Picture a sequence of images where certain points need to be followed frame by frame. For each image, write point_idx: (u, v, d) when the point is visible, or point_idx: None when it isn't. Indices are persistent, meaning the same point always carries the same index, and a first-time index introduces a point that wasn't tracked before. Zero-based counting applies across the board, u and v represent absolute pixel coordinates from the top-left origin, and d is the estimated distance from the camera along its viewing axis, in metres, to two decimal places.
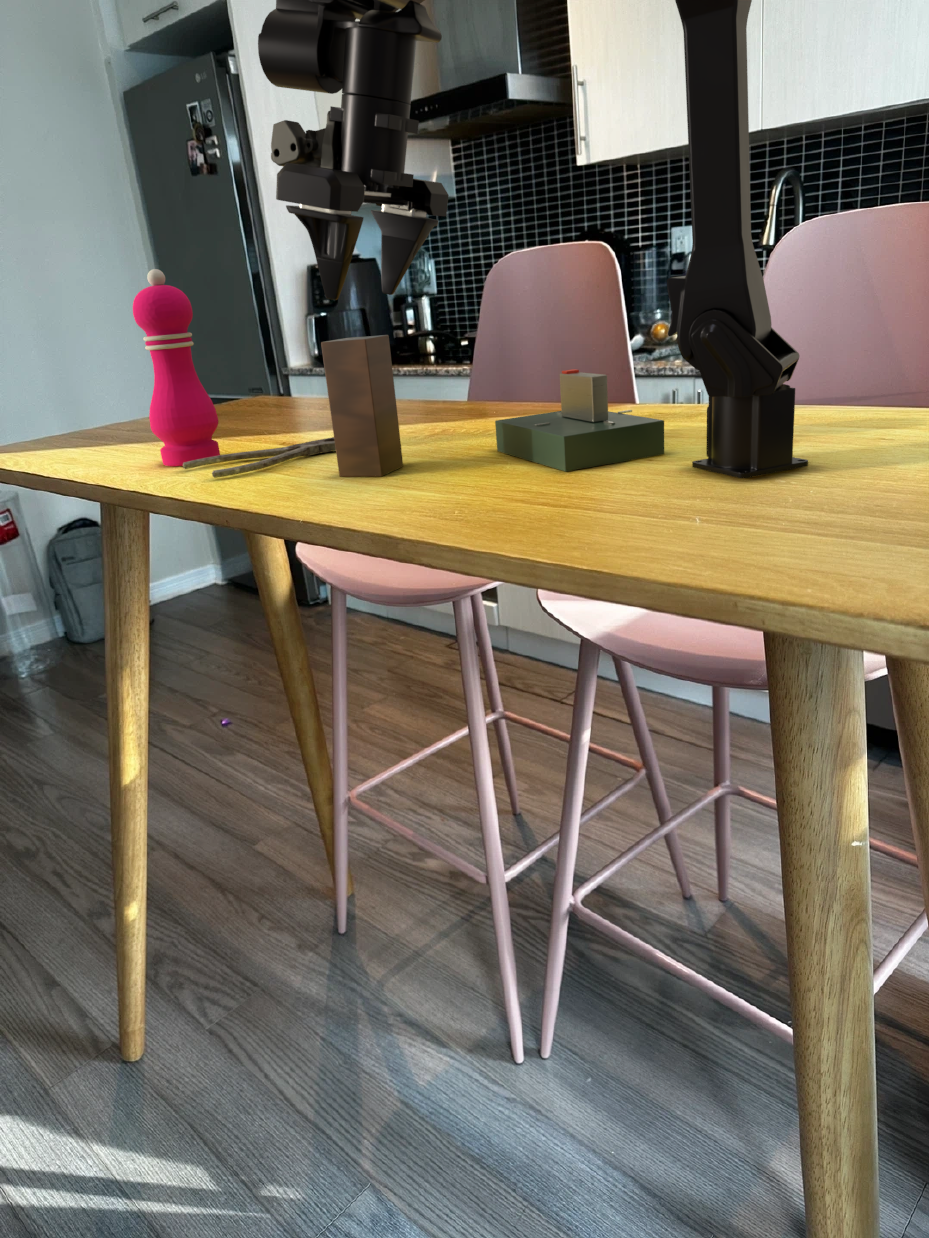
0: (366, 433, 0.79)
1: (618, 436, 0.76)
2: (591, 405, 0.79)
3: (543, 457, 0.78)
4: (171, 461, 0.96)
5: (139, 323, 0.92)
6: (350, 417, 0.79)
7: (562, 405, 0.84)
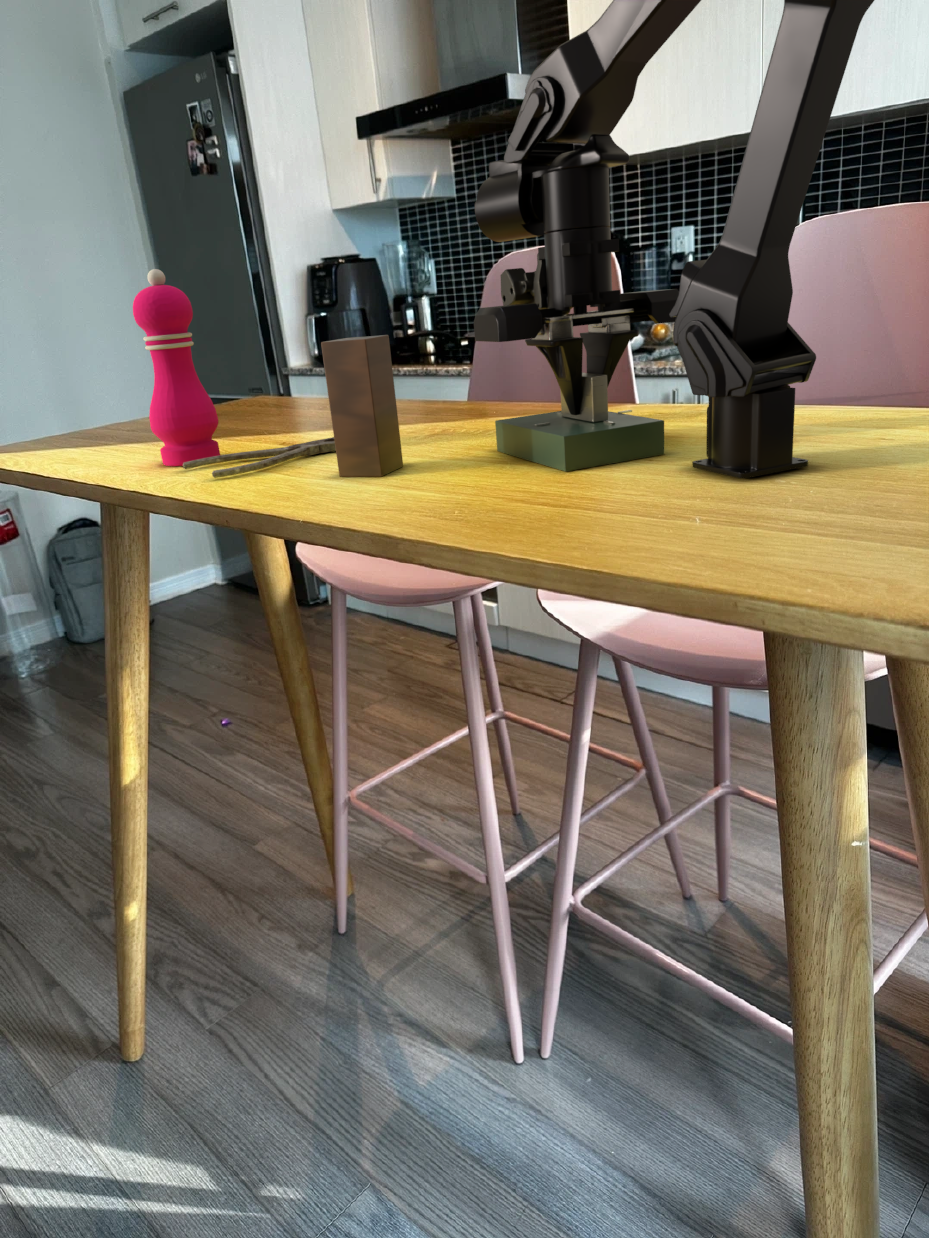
0: (366, 433, 0.79)
1: (618, 436, 0.76)
2: (591, 405, 0.79)
3: (543, 457, 0.78)
4: (171, 461, 0.96)
5: (139, 323, 0.92)
6: (350, 417, 0.79)
7: (562, 405, 0.84)
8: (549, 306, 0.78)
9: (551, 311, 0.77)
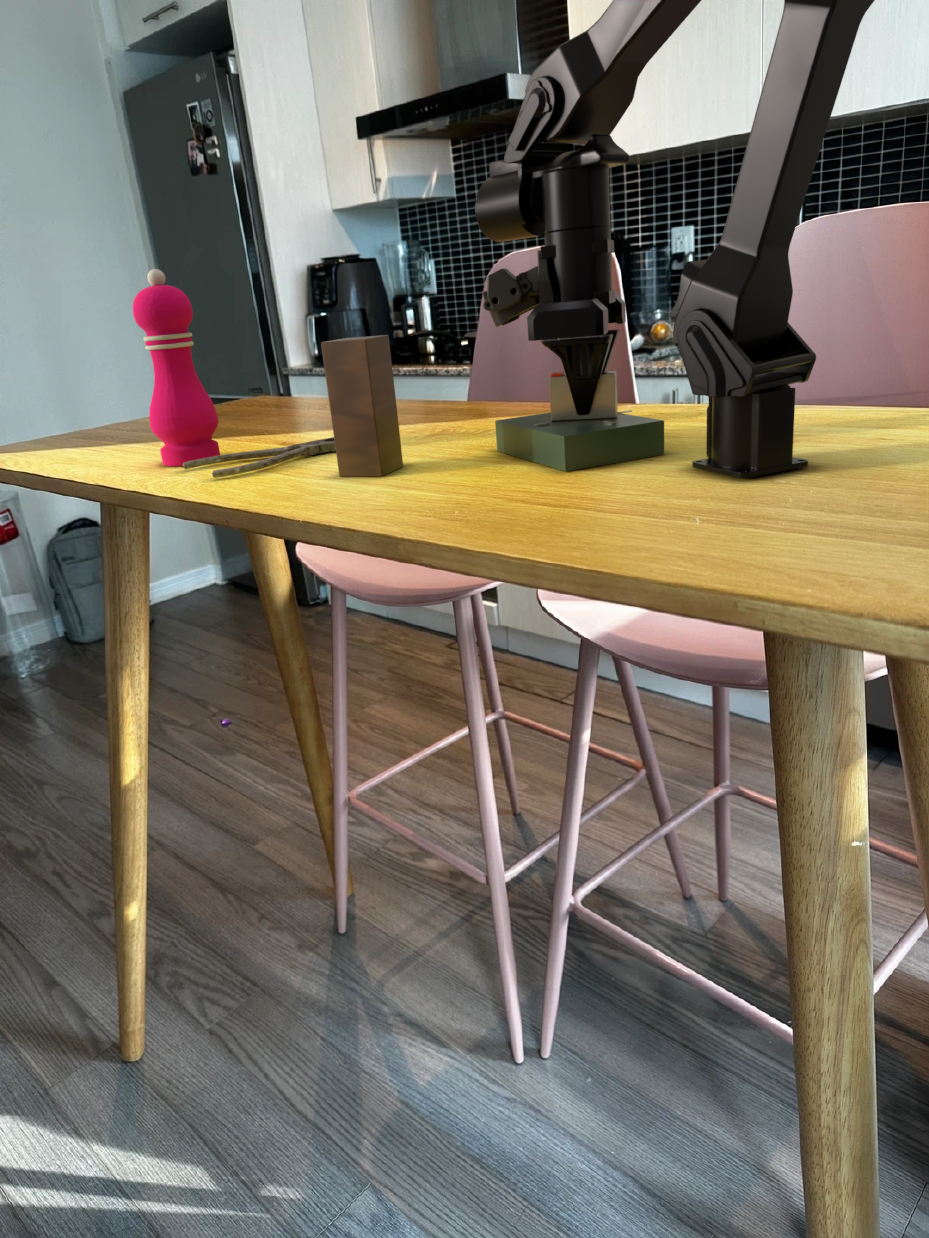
0: (366, 433, 0.79)
1: (618, 436, 0.76)
2: (613, 400, 0.80)
3: (543, 457, 0.78)
4: (171, 461, 0.96)
5: (139, 323, 0.92)
6: (350, 417, 0.79)
7: (554, 409, 0.82)
8: None
9: None
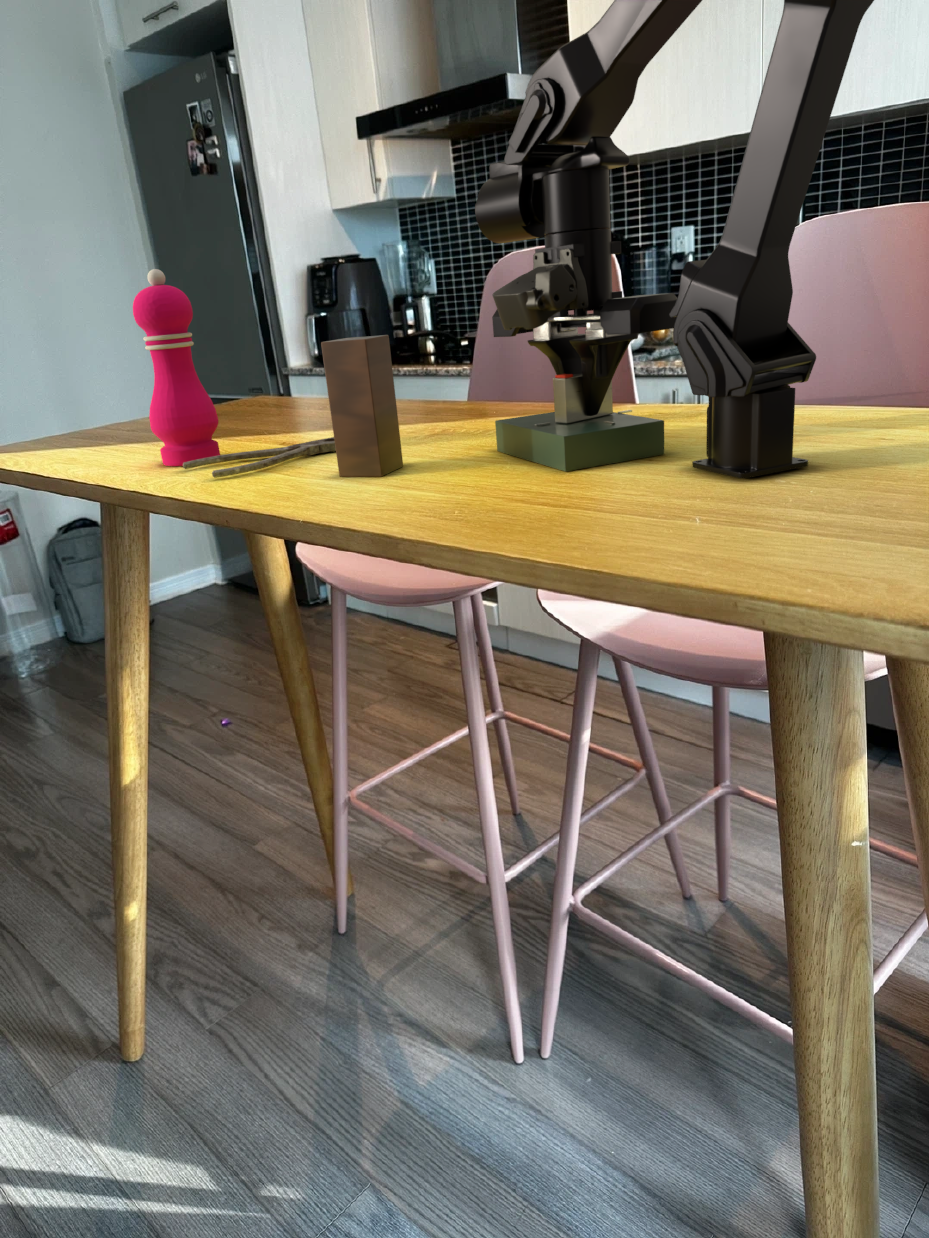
0: (366, 433, 0.79)
1: (618, 436, 0.76)
2: (611, 397, 0.83)
3: (543, 457, 0.78)
4: (171, 461, 0.96)
5: (139, 323, 0.92)
6: (350, 417, 0.79)
7: (569, 411, 0.80)
8: (598, 304, 0.76)
9: None
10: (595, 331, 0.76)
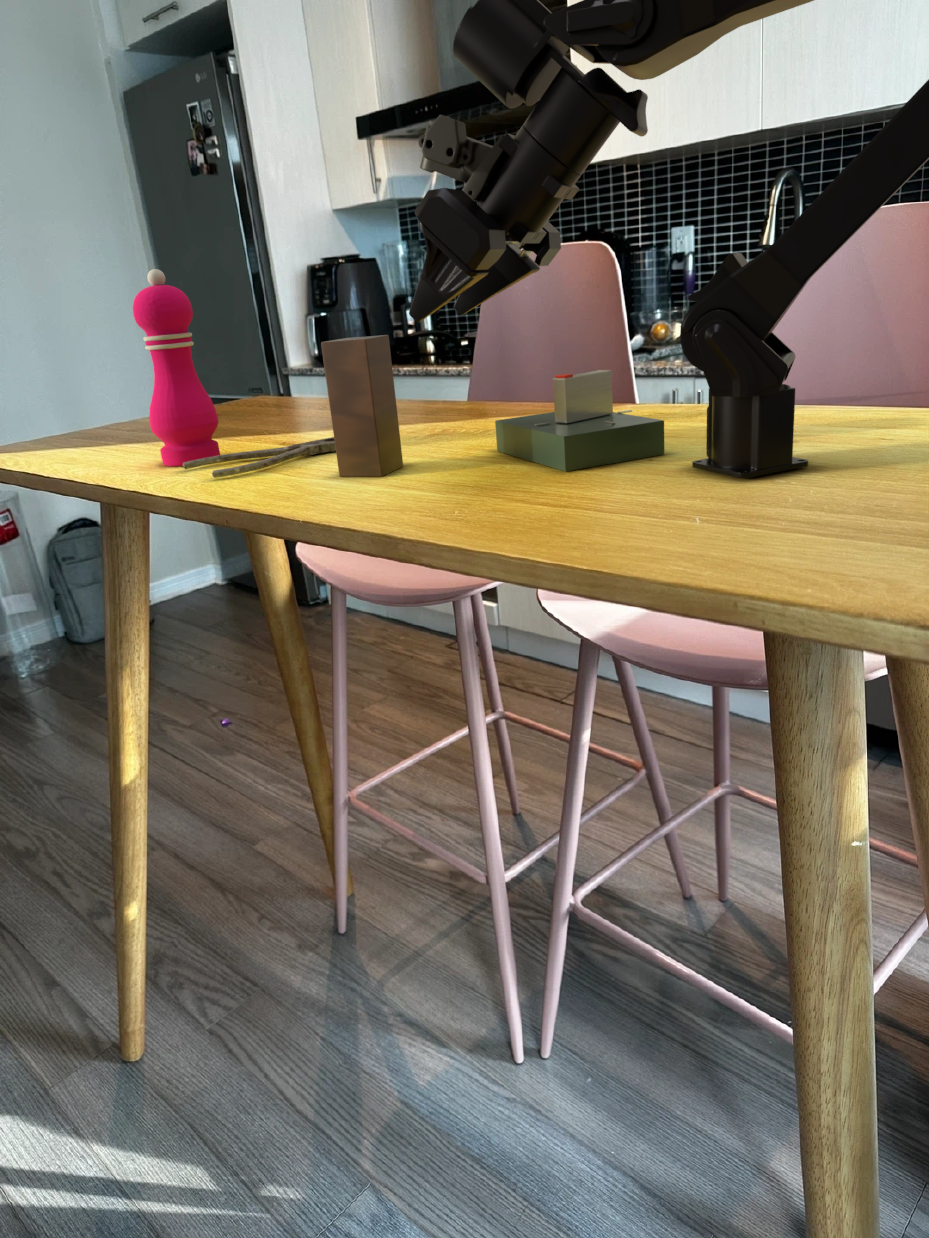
0: (366, 433, 0.79)
1: (618, 436, 0.76)
2: (611, 397, 0.83)
3: (543, 457, 0.78)
4: (171, 461, 0.96)
5: (139, 323, 0.92)
6: (350, 417, 0.79)
7: (569, 411, 0.80)
8: (488, 211, 0.68)
9: None
10: None
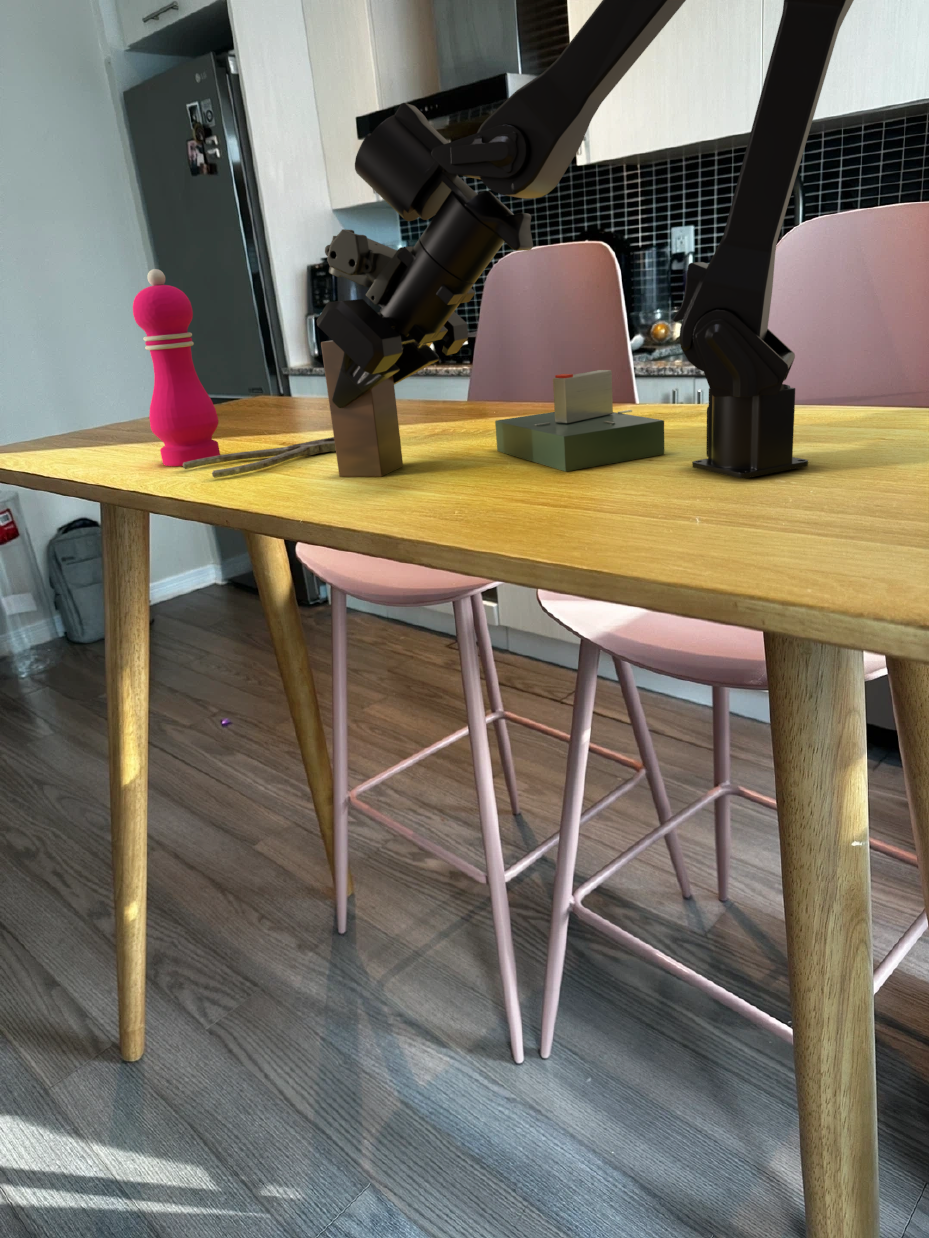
0: (366, 433, 0.79)
1: (618, 436, 0.76)
2: (611, 397, 0.83)
3: (543, 457, 0.78)
4: (171, 461, 0.96)
5: (139, 323, 0.92)
6: (350, 417, 0.79)
7: (569, 411, 0.80)
8: (389, 315, 0.74)
9: (393, 327, 0.74)
10: None
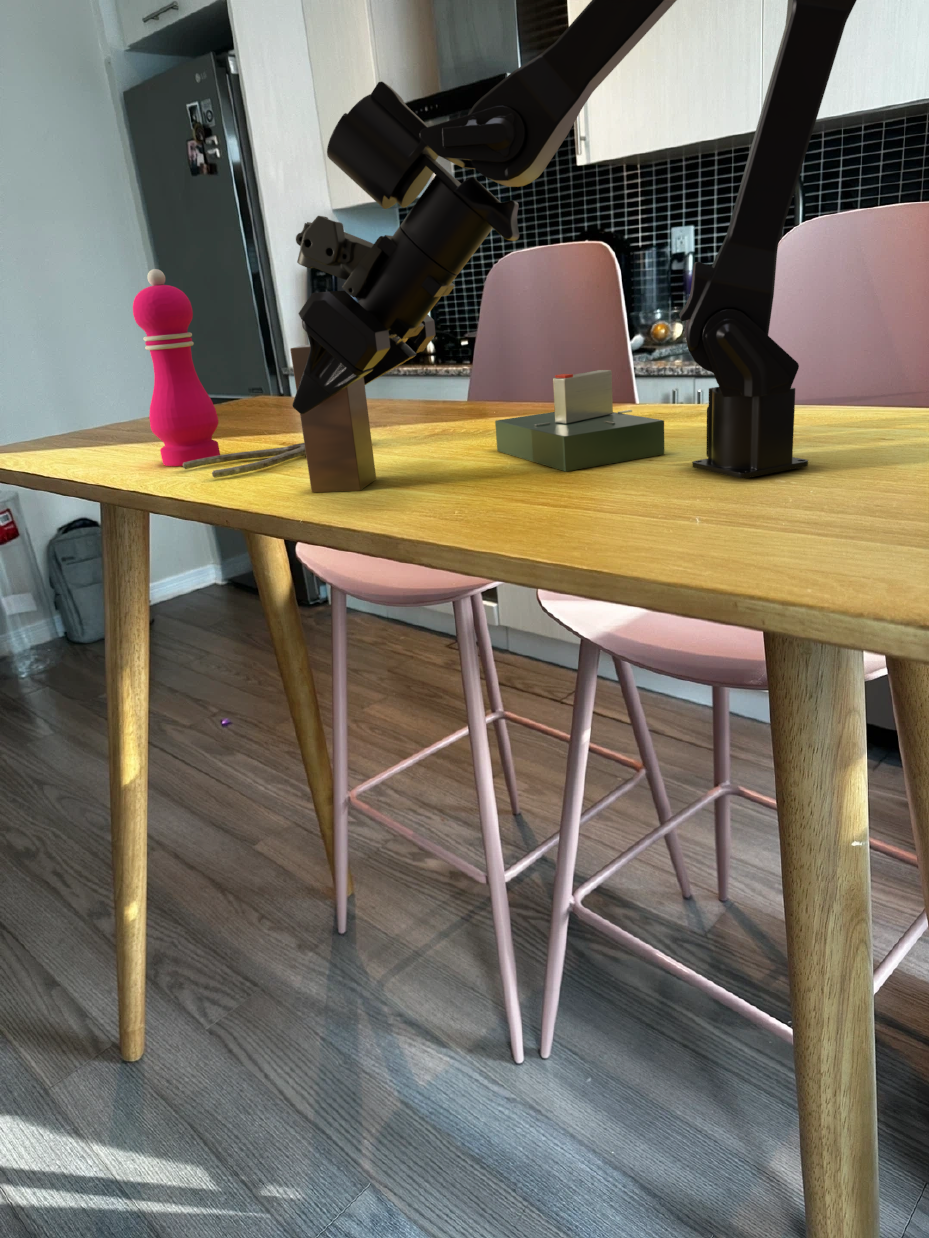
0: (342, 444, 0.74)
1: (618, 436, 0.76)
2: (611, 397, 0.83)
3: (543, 457, 0.78)
4: (171, 461, 0.96)
5: (139, 323, 0.92)
6: (324, 428, 0.74)
7: (569, 411, 0.80)
8: (369, 308, 0.69)
9: None
10: None
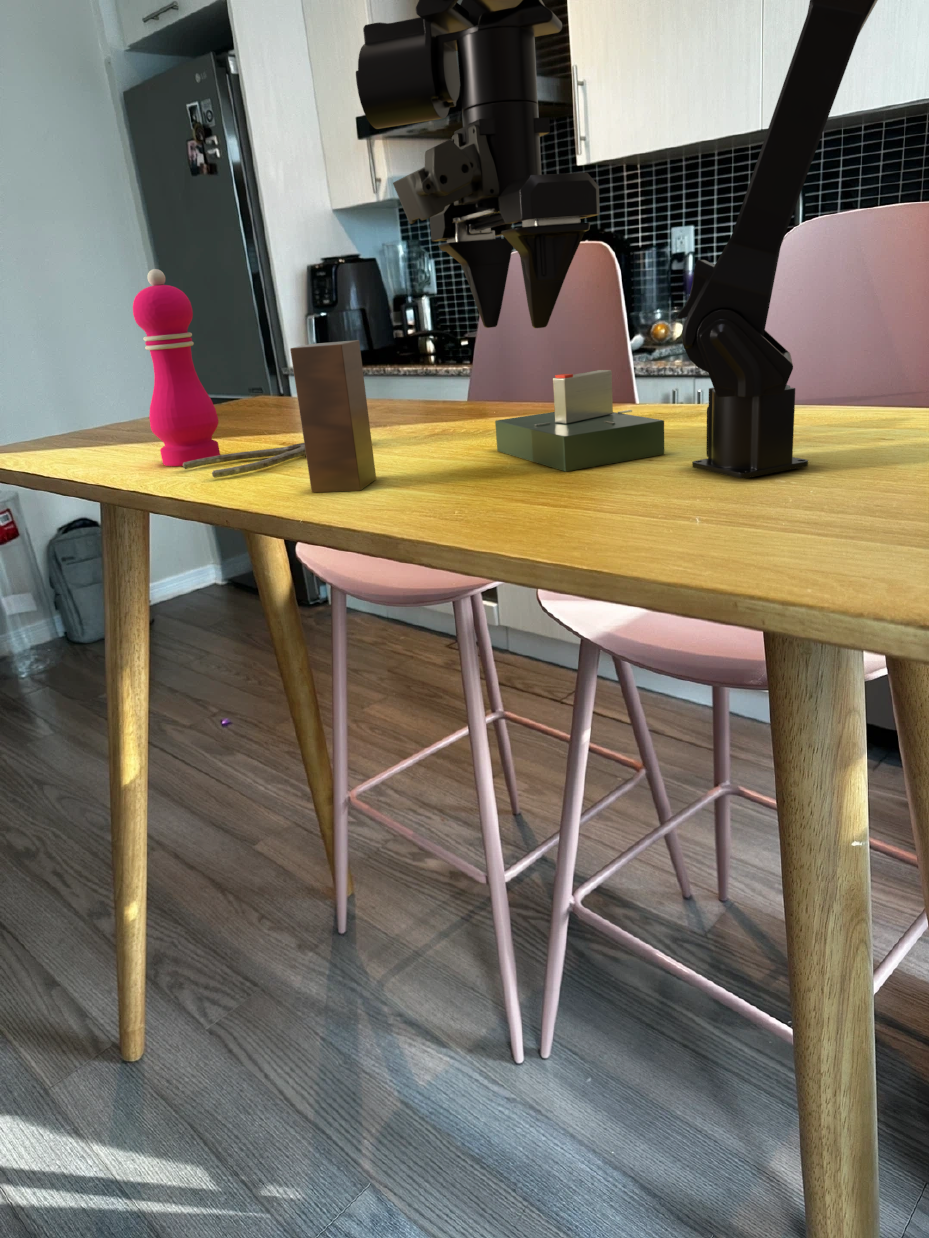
0: (342, 444, 0.74)
1: (618, 436, 0.76)
2: (611, 397, 0.83)
3: (543, 457, 0.78)
4: (171, 461, 0.96)
5: (139, 323, 0.92)
6: (324, 428, 0.74)
7: (569, 411, 0.80)
8: None
9: None
10: (529, 219, 0.63)
